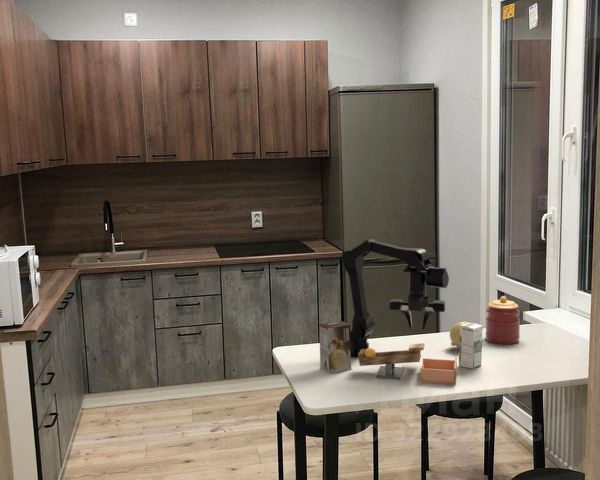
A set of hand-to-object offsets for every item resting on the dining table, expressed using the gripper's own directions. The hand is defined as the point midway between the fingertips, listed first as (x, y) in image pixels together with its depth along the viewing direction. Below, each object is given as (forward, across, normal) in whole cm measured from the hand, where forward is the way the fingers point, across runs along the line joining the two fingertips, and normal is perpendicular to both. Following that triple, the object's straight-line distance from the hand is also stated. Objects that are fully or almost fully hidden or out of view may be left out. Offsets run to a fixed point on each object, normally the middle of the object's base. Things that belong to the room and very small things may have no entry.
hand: (417, 329), depth 223 cm
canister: (+13, +30, +39) cm, 51 cm away
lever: (+8, -8, -6) cm, 13 cm away
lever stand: (+13, -8, -11) cm, 19 cm away
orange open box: (+13, +8, -11) cm, 19 cm away
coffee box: (+13, -27, -10) cm, 32 cm away
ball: (+6, -15, -11) cm, 20 cm away
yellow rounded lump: (+13, +16, +24) cm, 32 cm away
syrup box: (+13, +18, +4) cm, 23 cm away
